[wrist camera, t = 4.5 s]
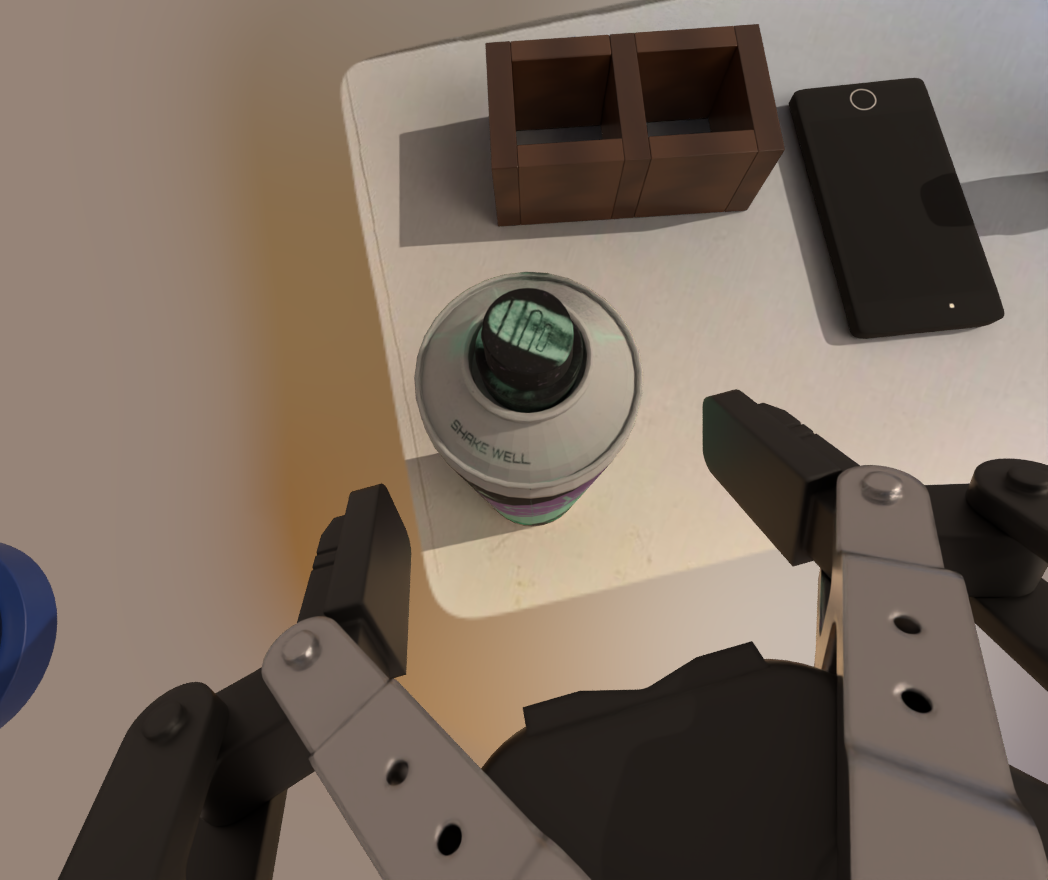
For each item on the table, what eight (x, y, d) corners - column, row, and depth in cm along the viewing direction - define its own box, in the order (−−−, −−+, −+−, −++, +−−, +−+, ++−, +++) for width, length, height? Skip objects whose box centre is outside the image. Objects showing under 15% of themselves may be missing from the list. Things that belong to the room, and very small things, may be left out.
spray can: (478, 443, 29) (359, 224, 9) (568, 426, 29) (638, 173, 9) (494, 534, 28) (396, 505, 8) (588, 516, 28) (714, 444, 8)
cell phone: (912, 88, 33) (922, 75, 32) (994, 326, 29) (1008, 319, 29) (785, 101, 33) (792, 89, 32) (850, 341, 29) (860, 334, 29)
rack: (498, 226, 32) (491, 169, 27) (492, 115, 34) (485, 42, 29) (747, 210, 32) (785, 149, 27) (726, 99, 34) (759, 23, 29)
